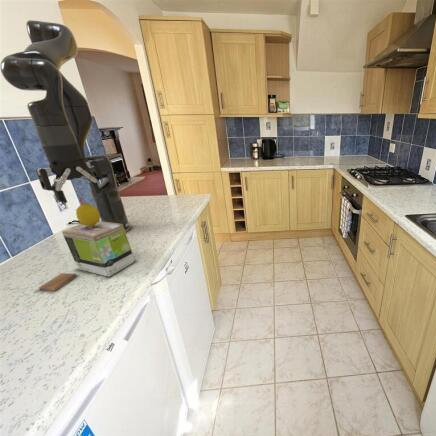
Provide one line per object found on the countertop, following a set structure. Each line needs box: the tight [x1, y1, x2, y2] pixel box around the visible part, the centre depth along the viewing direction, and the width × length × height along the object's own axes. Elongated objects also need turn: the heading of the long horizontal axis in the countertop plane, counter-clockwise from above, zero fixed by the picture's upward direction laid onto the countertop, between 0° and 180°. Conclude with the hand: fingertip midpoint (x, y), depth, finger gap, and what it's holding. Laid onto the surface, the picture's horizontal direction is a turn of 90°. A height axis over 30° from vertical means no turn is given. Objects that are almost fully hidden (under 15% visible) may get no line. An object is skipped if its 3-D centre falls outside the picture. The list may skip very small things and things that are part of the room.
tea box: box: [61, 220, 135, 278], centre depth 81 cm, size 15×10×15 cm
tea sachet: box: [38, 273, 77, 292], centre depth 75 cm, size 5×7×1 cm
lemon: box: [75, 202, 101, 227], centre depth 76 cm, size 6×6×8 cm
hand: (80, 198), depth 74 cm, fingers open, 8 cm apart
